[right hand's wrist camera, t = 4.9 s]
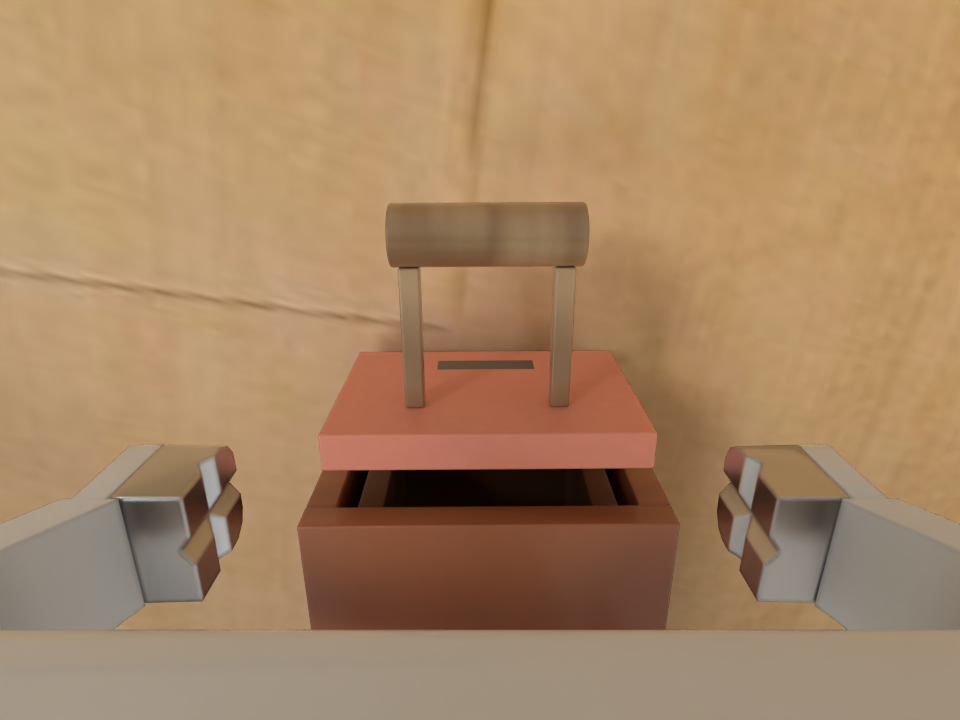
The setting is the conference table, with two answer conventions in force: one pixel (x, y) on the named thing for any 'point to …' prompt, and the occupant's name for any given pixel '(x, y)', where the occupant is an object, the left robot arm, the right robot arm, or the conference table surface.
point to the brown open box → (489, 561)
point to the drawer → (487, 380)
